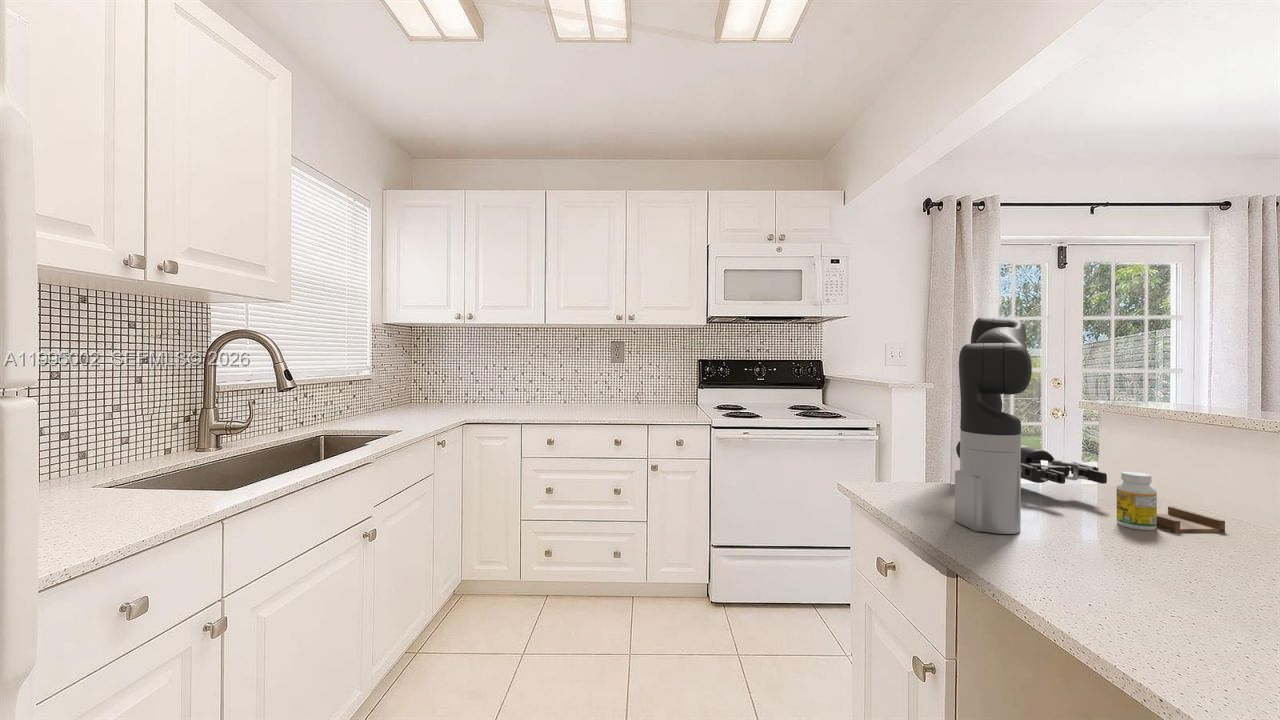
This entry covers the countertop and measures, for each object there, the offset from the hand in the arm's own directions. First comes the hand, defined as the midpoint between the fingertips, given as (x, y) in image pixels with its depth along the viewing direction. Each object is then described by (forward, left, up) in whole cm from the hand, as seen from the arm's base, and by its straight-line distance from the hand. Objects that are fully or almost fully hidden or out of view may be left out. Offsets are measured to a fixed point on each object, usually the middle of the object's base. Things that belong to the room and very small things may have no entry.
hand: (1084, 478), depth 108 cm
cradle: (+8, -10, -6) cm, 14 cm away
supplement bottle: (0, -11, -6) cm, 13 cm away
